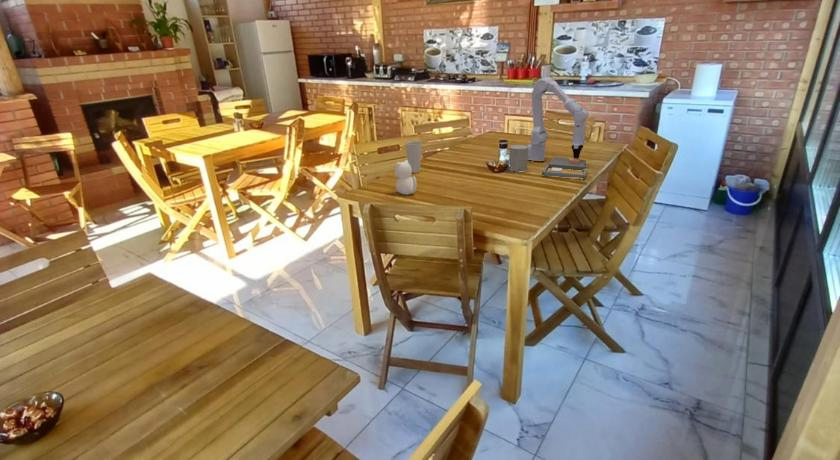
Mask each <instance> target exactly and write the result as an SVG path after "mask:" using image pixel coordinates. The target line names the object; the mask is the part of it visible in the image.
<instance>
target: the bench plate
mask: <svg viewBox="0 0 840 460" xmlns="http://www.w3.org/2000/svg"><path fill="white" fill-rule="evenodd" d="M569 160H570V158H564V157H553V158H552V159H551V160H550V161H549V163H548V165H549V168H563V169H571V170H572V169H573V170H583V169H584V170H585V168H584V166H585V164H586V165H587V160H586V159H580V164H579V165H576V164H569ZM585 167H586V166H585Z"/></svg>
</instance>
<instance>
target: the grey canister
mask: <svg viewBox="0 0 840 460" xmlns="http://www.w3.org/2000/svg"><path fill="white" fill-rule="evenodd" d="M527 160H528V145H525V144H511V145H510V146H509V155H508V162H509V161H510V170H512V171H515V172H514V173H520V172H519V171H525V170H527V171H528V161H527ZM525 172H526V171H525Z"/></svg>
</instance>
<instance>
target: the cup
mask: <svg viewBox="0 0 840 460" xmlns="http://www.w3.org/2000/svg"><path fill="white" fill-rule="evenodd" d="M405 151H406V152H405V153H406V158H407V160H408V163H409V164H410V166H411V168H412V173H411V174H417V173H420V172H421V158H422V156H421V155H422V141H421V140H420V141H418V140H410V141H406V142H405Z"/></svg>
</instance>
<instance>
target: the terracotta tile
mask: <svg viewBox="0 0 840 460" xmlns="http://www.w3.org/2000/svg"><path fill="white" fill-rule="evenodd" d="M569 159H570V160H569V164H576V165H579V164H580V160H581V158H580V157H579V158H574V157H570V158H569Z"/></svg>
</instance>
